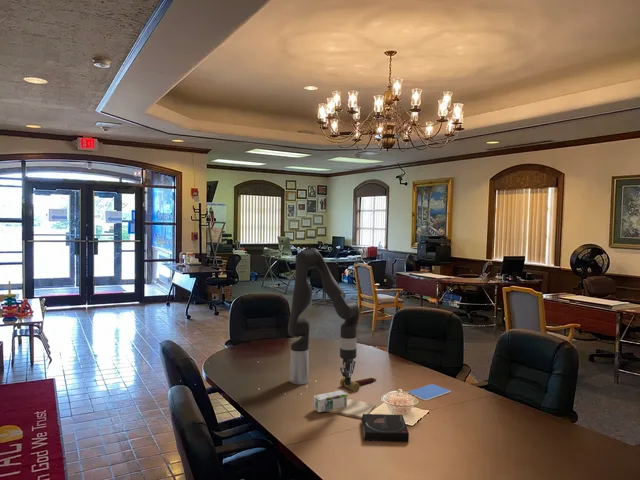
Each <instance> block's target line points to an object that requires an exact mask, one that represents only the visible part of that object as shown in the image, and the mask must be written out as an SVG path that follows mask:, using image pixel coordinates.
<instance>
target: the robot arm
mask: <svg viewBox="0 0 640 480" xmlns="http://www.w3.org/2000/svg"><path fill="white" fill-rule="evenodd" d="M315 268H316V269H317V270H318V271H319V274H320V277H321V284H322V288H323V291H324V293H325V294H326V296H327V297H328V298H329V299H330V301H331V302H332V305H333V307H334V309H335V312H336V314H337V316H338V317H339V318H340V319H342V320H344V322H343V323H341V325H340V338H339V358H341V359H342V365H341V366H342V367H339V368H340V369H339V371H340V374H341V375H342V378H345V385H348V386H349V385H350V384H351V381H352V375H353V374H354V371H355V367H356V366H355V365H356V360H354V359H356V358H357V345H358V344H357V342H358V341H357V326H358V323H359V317H360V307H359V305H358V304H357V302H354V301H348V302H346V300H345V299H346V293H345V291H344V290H343V288H342V287H341V285H339V283H338V282H337V281H336V279H335V278H334V275H332V272H331V270H330V269H329V267H328V265H327V263H326V261H325V259H324V258H323V255H322V254H321V253H320V251H319V250H318V249H317V248H314V247H311V248H308V249H305V250H301V251H300V252H298V253H297V254H296V258H295V277H294V287H293V293H292V302H291V303H292V304H291V309H290V313H289V314H290V315H289V319H288V324H287V333H288V335H289V336H290V337H291V338H292V337H293V338H294V337H295V338H296V337H297V338H298V337H300V338H299V339H298V340H296V341H292V342H291V344H290V362H289V364H288V382H289V383H291V384H294V385H305V384H307V383H309V352H310V351H309V349H310V348H309V343H310V321H309V319H308V318H307V317H306V318H305V317H304V318H303V317H301V318H300V316H301V314H302V313H303V312H305V310H306V309H307V308H308V307H309V305H310V304H311V302H312V295H313V288H312V285H311V284H310V283H309V281H308V272H309V270H312V269H315Z"/></svg>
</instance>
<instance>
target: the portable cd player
mask: <svg viewBox="0 0 640 480" xmlns="http://www.w3.org/2000/svg"><path fill="white" fill-rule="evenodd" d="M361 427H362V436H363V440H364V441H365V442H378V443H382V442H384V443H386V442H388V443H389V442H390V443H409V442H410V440H409V439H410V434H409V433H410V431H409V430H408V428H407V427H408V426H407V424H406V421H405V419H404V414H387V413H386V414H385V413H384V414H381V413H380V414H379V413H377V414H376V413H370V414H363V416H362V419H361Z"/></svg>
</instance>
